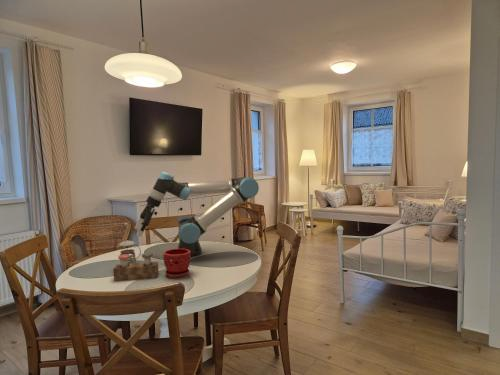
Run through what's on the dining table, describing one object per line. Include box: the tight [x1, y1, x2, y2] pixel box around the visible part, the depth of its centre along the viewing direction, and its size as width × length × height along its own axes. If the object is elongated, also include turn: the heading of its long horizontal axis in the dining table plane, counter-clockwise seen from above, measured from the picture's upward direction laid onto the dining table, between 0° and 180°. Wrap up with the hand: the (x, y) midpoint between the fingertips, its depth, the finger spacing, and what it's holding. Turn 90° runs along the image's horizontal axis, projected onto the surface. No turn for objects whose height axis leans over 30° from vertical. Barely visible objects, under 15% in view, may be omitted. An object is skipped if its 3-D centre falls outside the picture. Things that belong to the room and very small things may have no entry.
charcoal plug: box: [141, 252, 154, 266], centre depth 159 cm, size 5×5×7 cm
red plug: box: [118, 254, 131, 267], centre depth 157 cm, size 5×5×7 cm
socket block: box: [112, 261, 159, 282], centre depth 158 cm, size 20×7×6 cm, turn 100°
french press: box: [118, 222, 142, 264], centre depth 171 cm, size 10×12×25 cm
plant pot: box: [163, 248, 192, 278], centre depth 160 cm, size 13×13×12 cm
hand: (137, 232), depth 177 cm, fingers open, 13 cm apart
